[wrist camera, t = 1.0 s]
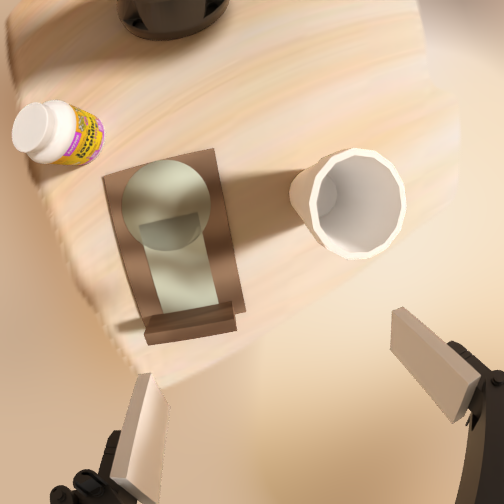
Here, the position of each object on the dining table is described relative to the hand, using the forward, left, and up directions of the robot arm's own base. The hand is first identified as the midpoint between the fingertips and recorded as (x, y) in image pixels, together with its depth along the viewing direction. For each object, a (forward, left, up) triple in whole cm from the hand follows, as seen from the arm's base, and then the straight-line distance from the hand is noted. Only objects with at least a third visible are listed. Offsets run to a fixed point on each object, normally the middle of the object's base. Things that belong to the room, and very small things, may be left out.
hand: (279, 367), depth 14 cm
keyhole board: (-3, -8, -23) cm, 24 cm away
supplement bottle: (-19, -17, -23) cm, 34 cm away
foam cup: (-6, +10, -23) cm, 26 cm away
